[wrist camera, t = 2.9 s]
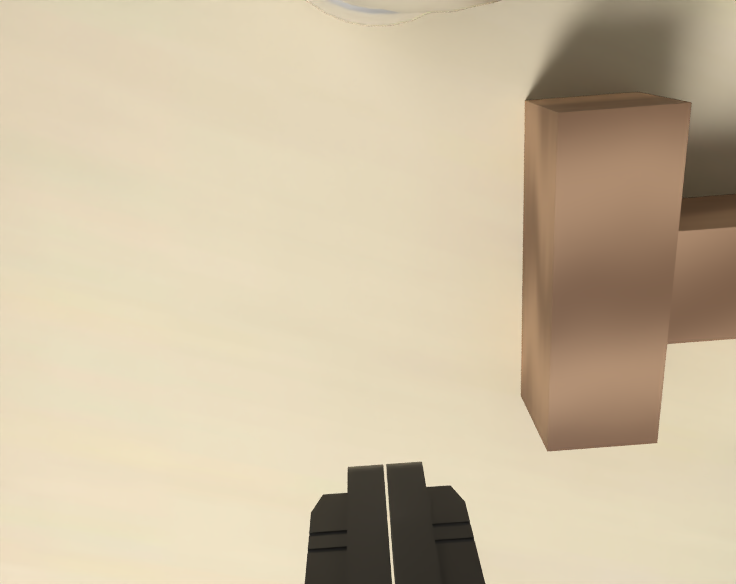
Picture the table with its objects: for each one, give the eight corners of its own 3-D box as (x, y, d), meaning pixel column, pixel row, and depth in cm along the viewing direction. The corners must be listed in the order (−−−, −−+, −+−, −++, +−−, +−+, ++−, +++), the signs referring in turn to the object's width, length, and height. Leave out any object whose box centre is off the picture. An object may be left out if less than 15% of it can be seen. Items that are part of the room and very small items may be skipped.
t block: (525, 100, 24) (558, 112, 20) (862, 74, 24) (957, 82, 20) (521, 395, 28) (547, 451, 24) (805, 374, 28) (876, 426, 24)
